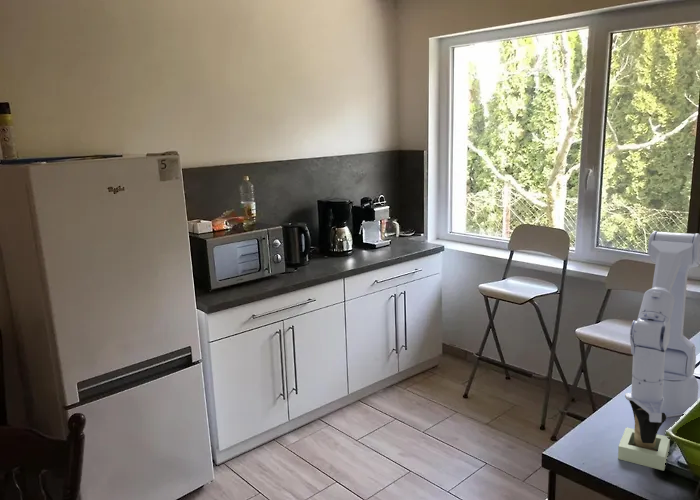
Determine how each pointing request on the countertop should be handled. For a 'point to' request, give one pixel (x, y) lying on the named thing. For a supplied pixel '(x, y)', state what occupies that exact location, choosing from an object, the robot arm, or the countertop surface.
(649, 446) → the peg
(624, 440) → the socket
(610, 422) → the countertop surface
